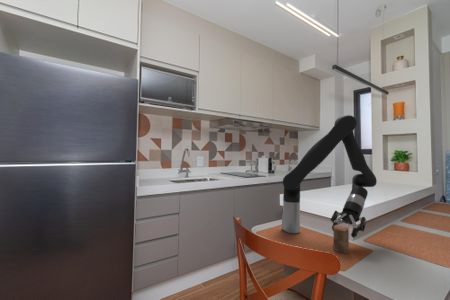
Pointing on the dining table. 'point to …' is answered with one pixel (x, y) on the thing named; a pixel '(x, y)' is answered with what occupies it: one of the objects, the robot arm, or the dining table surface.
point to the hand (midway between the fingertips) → (342, 233)
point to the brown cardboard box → (341, 239)
